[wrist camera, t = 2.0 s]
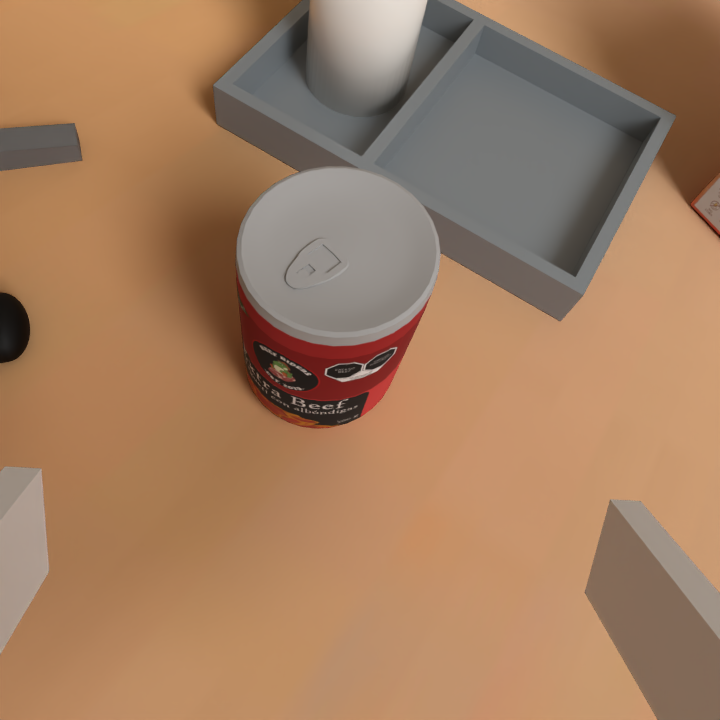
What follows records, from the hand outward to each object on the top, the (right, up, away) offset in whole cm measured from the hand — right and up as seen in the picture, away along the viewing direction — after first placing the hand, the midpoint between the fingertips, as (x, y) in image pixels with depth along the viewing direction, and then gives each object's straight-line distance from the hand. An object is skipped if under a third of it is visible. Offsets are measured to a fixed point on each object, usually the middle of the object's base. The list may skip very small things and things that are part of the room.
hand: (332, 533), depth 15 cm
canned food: (-1, +4, +19) cm, 20 cm away
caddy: (+6, +18, +27) cm, 33 cm away
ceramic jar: (0, +22, +27) cm, 35 cm away
